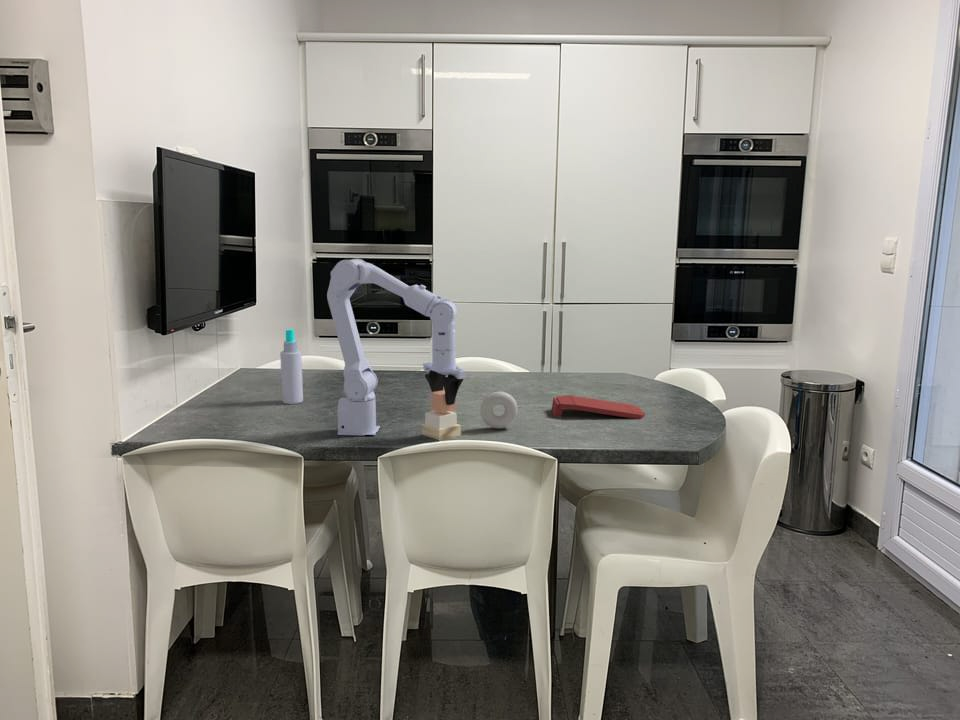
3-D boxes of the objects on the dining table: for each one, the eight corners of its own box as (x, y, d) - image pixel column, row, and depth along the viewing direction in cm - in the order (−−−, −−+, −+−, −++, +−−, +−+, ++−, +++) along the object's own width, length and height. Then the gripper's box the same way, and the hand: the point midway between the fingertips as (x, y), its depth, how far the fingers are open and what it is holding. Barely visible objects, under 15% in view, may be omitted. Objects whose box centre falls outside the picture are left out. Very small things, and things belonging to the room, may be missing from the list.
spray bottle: (297, 405, 217) (294, 331, 213) (278, 404, 218) (275, 330, 214) (306, 400, 222) (303, 328, 219) (288, 399, 224) (285, 328, 220)
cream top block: (439, 429, 180) (439, 416, 180) (425, 424, 184) (425, 412, 184) (456, 425, 184) (456, 413, 183) (442, 421, 188) (442, 409, 187)
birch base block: (439, 442, 180) (439, 430, 180) (422, 436, 185) (421, 424, 185) (460, 437, 185) (460, 425, 184) (443, 431, 190) (443, 419, 189)
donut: (480, 430, 190) (480, 393, 188) (479, 427, 193) (479, 390, 191) (518, 429, 191) (519, 392, 189) (516, 426, 194) (516, 389, 192)
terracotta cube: (441, 412, 180) (441, 395, 180) (430, 409, 184) (430, 392, 183) (455, 410, 183) (455, 392, 183) (444, 406, 187) (444, 390, 186)
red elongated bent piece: (633, 421, 215) (550, 408, 214) (637, 405, 215) (553, 392, 214) (643, 432, 203) (555, 419, 203) (646, 415, 203) (558, 401, 202)
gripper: (475, 351, 178) (475, 405, 181) (438, 344, 189) (438, 395, 191) (453, 354, 174) (453, 409, 176) (416, 347, 184) (417, 399, 187)
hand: (444, 402), depth 183 cm, fingers closed on terracotta cube, 4 cm apart
